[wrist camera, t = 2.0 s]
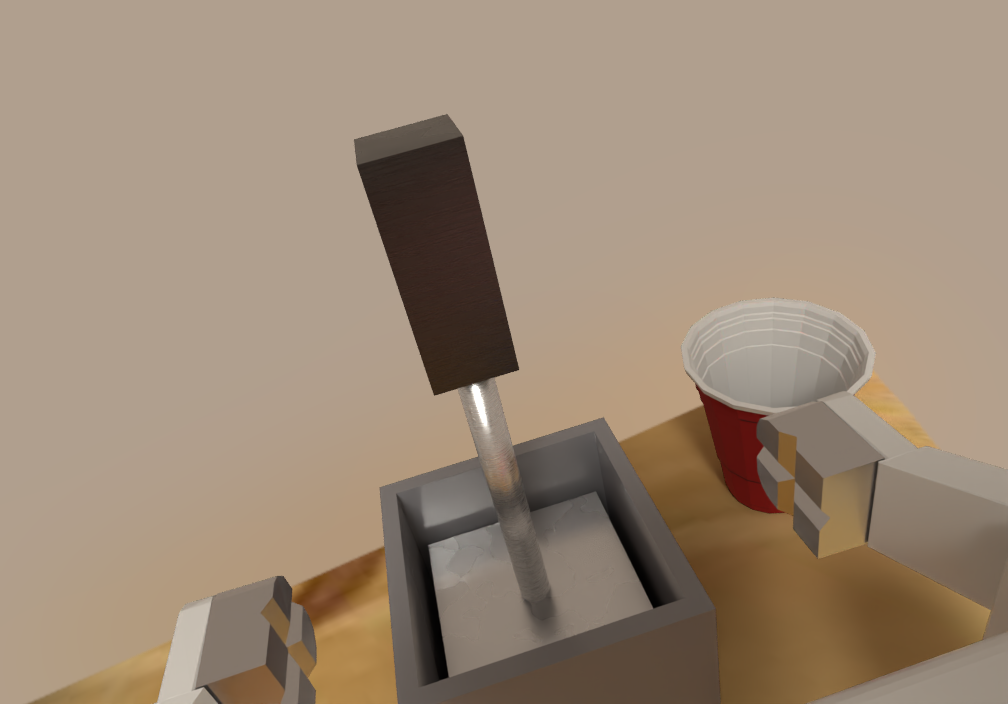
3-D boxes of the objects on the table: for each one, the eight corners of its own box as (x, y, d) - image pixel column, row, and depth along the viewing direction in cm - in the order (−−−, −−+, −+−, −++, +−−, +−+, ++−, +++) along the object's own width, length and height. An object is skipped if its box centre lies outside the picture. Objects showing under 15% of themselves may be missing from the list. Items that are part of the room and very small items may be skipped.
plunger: (460, 726, 27) (228, 237, 15) (432, 555, 35) (264, 142, 23) (671, 654, 28) (609, 130, 16) (597, 501, 35) (518, 73, 23)
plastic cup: (720, 563, 42) (714, 418, 35) (671, 449, 51) (659, 318, 44) (893, 529, 41) (919, 376, 35) (813, 421, 50) (821, 283, 44)
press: (486, 871, 31) (399, 716, 23) (448, 646, 41) (379, 487, 33) (724, 785, 32) (715, 608, 24) (630, 586, 42) (603, 417, 34)
